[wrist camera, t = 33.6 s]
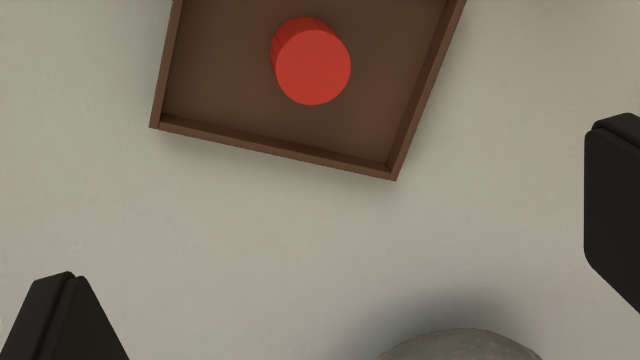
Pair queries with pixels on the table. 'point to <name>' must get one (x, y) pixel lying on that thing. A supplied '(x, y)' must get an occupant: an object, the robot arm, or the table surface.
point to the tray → (281, 111)
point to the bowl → (460, 347)
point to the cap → (309, 61)
